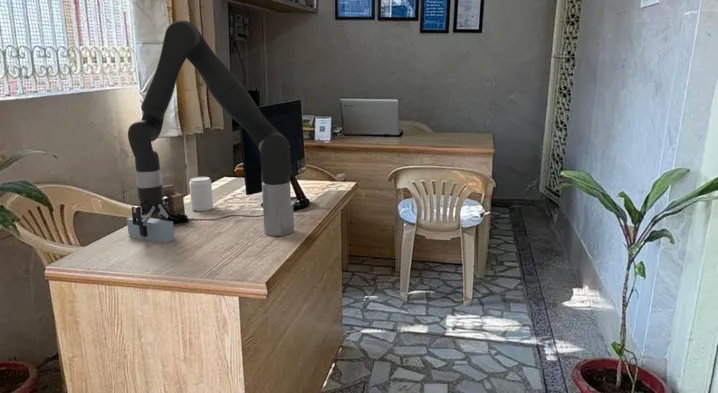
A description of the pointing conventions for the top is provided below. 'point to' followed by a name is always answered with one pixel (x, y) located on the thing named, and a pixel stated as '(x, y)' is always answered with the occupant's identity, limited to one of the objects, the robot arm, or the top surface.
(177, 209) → the headboard
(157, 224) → the grey rectangular block
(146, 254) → the top surface
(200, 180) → the beverage can
